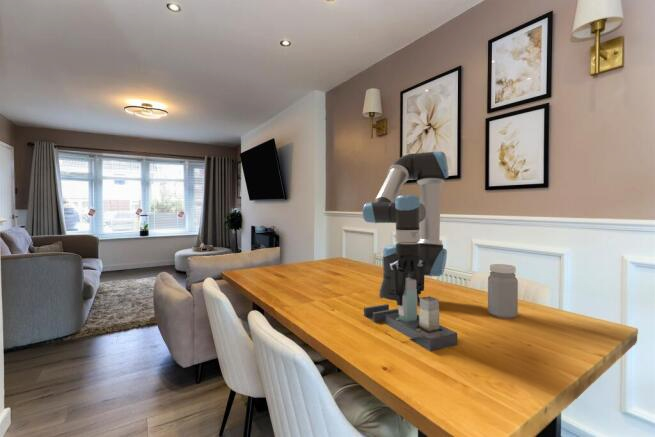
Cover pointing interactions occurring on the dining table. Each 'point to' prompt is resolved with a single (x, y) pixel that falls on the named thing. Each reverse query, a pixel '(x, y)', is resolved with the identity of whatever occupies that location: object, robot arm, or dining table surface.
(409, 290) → the plug
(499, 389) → the dining table surface
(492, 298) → the jar
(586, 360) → the dining table surface
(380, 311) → the holster
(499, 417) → the dining table surface
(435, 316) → the port block
